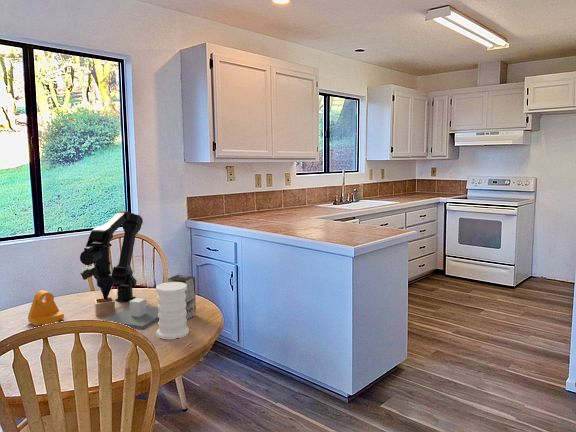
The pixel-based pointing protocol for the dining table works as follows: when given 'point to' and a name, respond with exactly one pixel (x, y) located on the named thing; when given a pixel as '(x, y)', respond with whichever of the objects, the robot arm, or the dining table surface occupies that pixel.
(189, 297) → the coffee box
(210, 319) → the dining table surface
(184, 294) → the decorative container
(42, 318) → the bracket
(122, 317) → the duct base
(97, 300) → the collar
